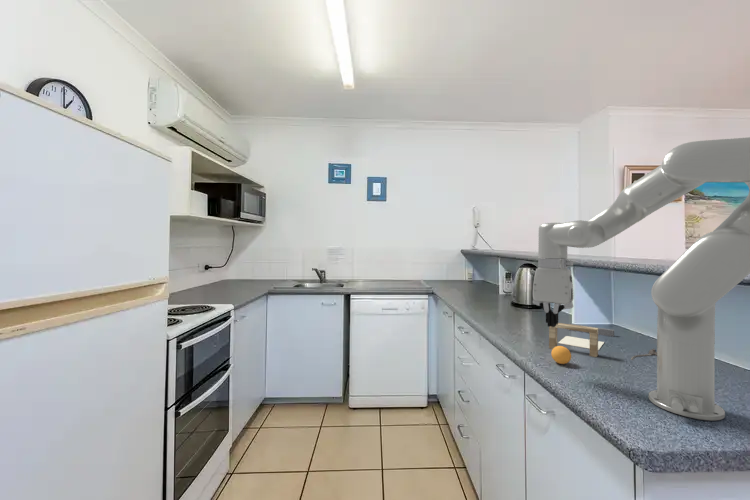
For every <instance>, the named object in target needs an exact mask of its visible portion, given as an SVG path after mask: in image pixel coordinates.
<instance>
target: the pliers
mask: <svg viewBox="0 0 750 500" xmlns="http://www.w3.org/2000/svg"><path fill="white" fill-rule="evenodd" d="M655 349H656V348H651V349H650V350H649V351H648V352H647V353H646V354H645V353H644V354H635V355H633V356H631V357H630V360H631V361H634V359H635V358H639V357H640V358H641V357H651V356H656V357H657V351H656V350H655Z"/></svg>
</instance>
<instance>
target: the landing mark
mask: <svg viewBox="0 0 750 500" xmlns="http://www.w3.org/2000/svg"><path fill="white" fill-rule="evenodd" d="M557 344H560V345H566V346H572V347H577V348H583V349H588V350H590V339H588V338H582V337H576V336H569V335H565V336H564V337H563V338H562V339H560V341H557ZM604 344H605V341H600V340H598V351H600V349H601V348H602V346H603V345H604Z"/></svg>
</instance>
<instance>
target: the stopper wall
mask: <svg viewBox="0 0 750 500" xmlns="http://www.w3.org/2000/svg"><path fill="white" fill-rule="evenodd" d="M569 324H570V325H578V326H585V327H592V328H598V336H599V335H600V336H606V337H612V338H613V337H615V329H610V328H603V327H597V326H589V325H581V324H575V323H569ZM571 331H573V332H577V331H576V330H571ZM578 332H580V333H587V334H590V333H589V332H583V331H578Z"/></svg>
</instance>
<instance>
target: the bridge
mask: <svg viewBox="0 0 750 500" xmlns="http://www.w3.org/2000/svg"><path fill="white" fill-rule="evenodd" d="M570 324H571V323H563V322H558V324H556V326H555V327H551V326H550V327H548V348H549V349H551V350H553V348H554V347H556V346H558V329H564V330H569V331H572V330H576V331H575V332H579V331H583V332H582V333H585V332H589V333H588V334H589V340H590V349H589V357H593V358H598V356H599V350H598V341H599V334H598V328H599V327H598V328H592V327H593V326H590V327H585V326H586V325H583V326H578V325H579V324H576V325H570Z"/></svg>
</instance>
